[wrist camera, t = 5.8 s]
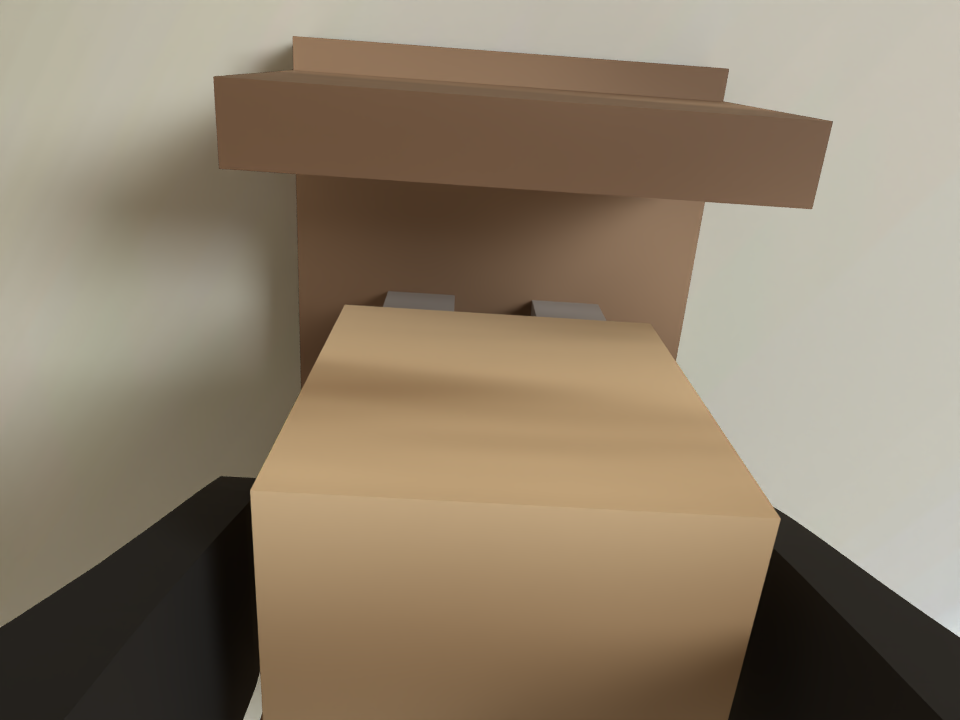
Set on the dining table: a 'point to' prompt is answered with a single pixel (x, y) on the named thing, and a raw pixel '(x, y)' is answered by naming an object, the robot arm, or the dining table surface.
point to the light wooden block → (503, 528)
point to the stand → (505, 178)
